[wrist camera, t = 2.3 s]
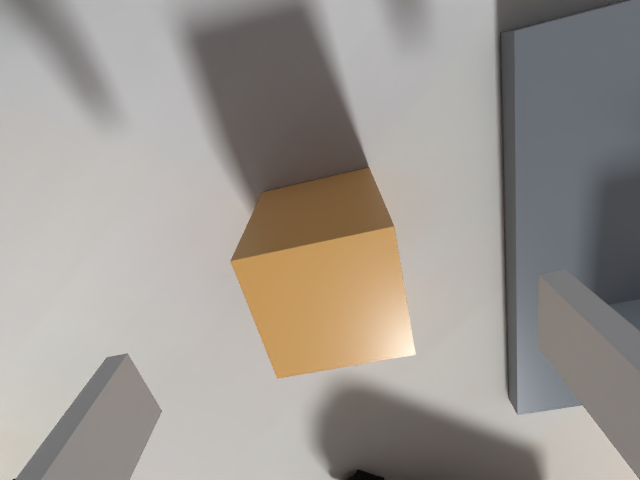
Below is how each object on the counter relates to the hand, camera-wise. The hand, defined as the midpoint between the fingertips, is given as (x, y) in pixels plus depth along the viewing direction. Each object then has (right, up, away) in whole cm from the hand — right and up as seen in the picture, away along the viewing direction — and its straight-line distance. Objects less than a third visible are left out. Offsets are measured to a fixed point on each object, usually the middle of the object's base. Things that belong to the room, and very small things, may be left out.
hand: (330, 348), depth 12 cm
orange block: (0, +4, +7) cm, 8 cm away
